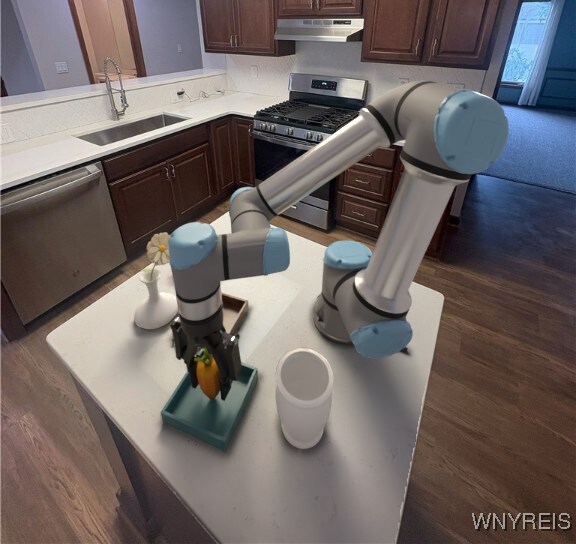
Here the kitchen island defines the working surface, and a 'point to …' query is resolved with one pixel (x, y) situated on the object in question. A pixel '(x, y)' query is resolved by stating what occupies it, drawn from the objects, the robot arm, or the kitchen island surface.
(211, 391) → the carrot
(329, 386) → the jar
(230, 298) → the tray
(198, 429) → the tray
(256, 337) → the kitchen island surface
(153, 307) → the flower in vase
